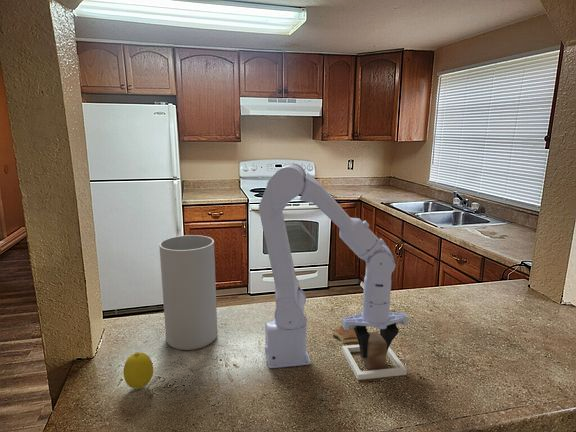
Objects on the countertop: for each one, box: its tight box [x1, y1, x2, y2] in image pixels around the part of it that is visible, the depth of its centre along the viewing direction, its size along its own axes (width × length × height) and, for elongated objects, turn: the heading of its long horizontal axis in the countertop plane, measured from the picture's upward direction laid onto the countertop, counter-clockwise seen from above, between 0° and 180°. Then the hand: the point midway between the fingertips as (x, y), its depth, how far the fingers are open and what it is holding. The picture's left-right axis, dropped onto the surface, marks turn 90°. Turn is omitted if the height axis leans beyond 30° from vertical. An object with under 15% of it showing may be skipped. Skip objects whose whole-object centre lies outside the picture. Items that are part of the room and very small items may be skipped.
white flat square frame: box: [341, 344, 408, 381], centre depth 86 cm, size 11×11×1 cm
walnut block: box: [359, 331, 387, 371], centre depth 86 cm, size 4×5×6 cm
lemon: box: [122, 351, 154, 390], centre depth 77 cm, size 6×6×8 cm
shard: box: [331, 324, 369, 344], centre depth 96 cm, size 11×8×2 cm
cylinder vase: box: [158, 234, 218, 351], centre depth 93 cm, size 12×12×25 cm
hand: (373, 354), depth 86 cm, fingers closed on walnut block, 4 cm apart
